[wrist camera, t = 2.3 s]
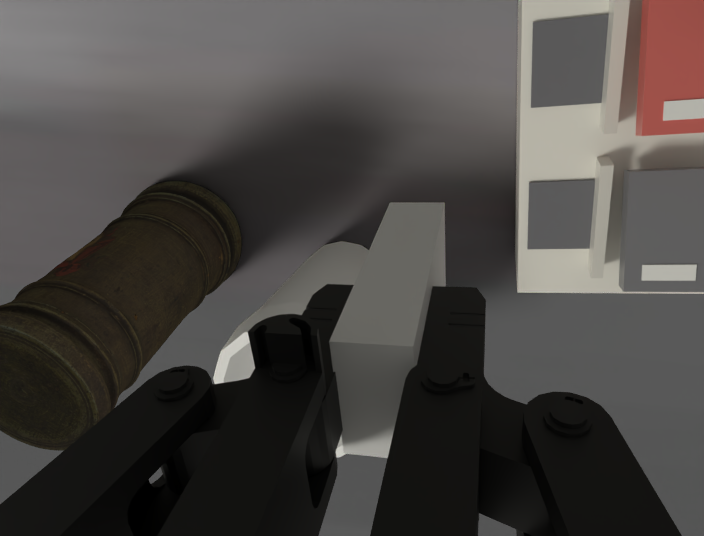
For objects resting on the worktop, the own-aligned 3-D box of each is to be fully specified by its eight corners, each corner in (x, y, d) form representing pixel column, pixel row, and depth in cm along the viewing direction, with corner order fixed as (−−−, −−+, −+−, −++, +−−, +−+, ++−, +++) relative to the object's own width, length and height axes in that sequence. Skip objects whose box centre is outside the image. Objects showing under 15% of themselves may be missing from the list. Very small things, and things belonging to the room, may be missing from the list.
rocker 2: (624, 169, 28) (629, 171, 27) (714, 166, 27) (723, 167, 26) (618, 285, 30) (623, 291, 29) (703, 285, 29) (713, 292, 28)
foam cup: (307, 201, 40) (235, 299, 29) (429, 252, 40) (404, 370, 29) (273, 303, 45) (201, 420, 34) (381, 348, 45) (345, 481, 34)
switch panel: (521, -286, 25) (529, -349, 20) (785, -348, 23) (875, -439, 17) (515, 253, 38) (518, 305, 33) (683, 252, 36) (717, 307, 30)
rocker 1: (642, -6, 25) (650, -13, 23) (747, -18, 24) (761, -26, 22) (635, 135, 26) (642, 136, 25) (734, 129, 25) (746, 130, 24)
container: (249, 196, 40) (101, 349, 25) (238, 297, 45) (107, 477, 30) (133, 163, 41) (-80, 292, 26) (133, 266, 46) (-46, 426, 31)
